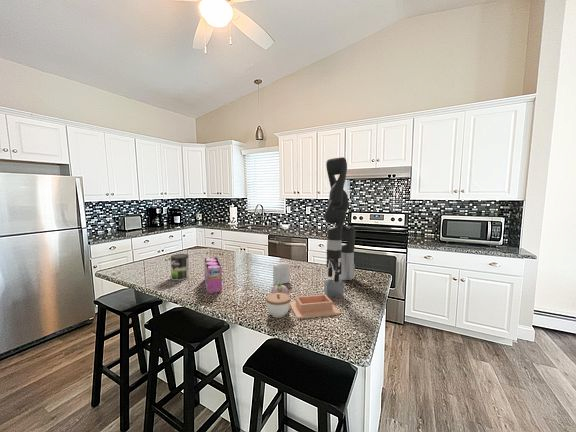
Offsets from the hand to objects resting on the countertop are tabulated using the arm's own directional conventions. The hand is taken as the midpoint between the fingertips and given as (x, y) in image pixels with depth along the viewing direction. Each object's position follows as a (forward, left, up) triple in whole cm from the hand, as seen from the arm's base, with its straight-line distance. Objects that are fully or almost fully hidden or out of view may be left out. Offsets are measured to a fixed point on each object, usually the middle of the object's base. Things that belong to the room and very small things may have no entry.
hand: (333, 279), depth 133 cm
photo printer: (+22, -24, -9) cm, 34 cm away
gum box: (+62, -29, -9) cm, 69 cm away
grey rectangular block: (-1, 0, -9) cm, 9 cm away
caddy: (+14, +12, -9) cm, 21 cm away
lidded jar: (+31, +14, -9) cm, 36 cm away
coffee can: (+82, -46, -9) cm, 95 cm away
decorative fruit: (+28, +3, -9) cm, 30 cm away
